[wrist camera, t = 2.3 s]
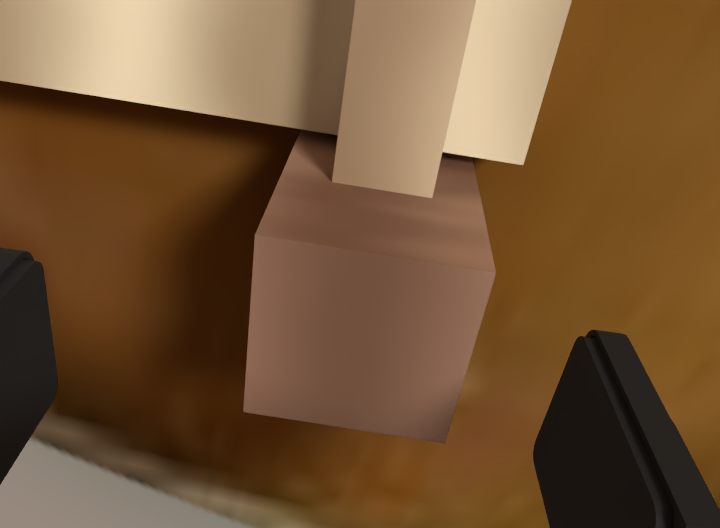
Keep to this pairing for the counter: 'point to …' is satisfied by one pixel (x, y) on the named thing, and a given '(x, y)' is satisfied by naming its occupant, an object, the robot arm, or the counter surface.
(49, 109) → the counter surface
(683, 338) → the counter surface
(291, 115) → the board
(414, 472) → the counter surface
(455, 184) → the brown handled block
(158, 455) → the counter surface
